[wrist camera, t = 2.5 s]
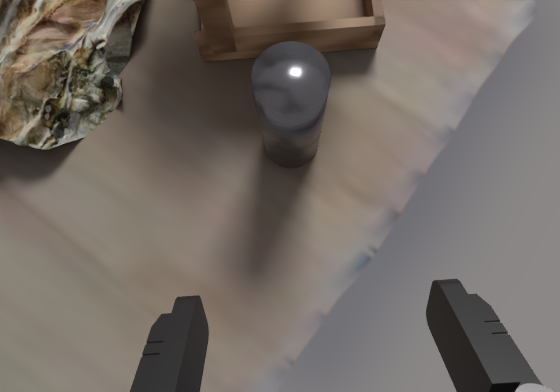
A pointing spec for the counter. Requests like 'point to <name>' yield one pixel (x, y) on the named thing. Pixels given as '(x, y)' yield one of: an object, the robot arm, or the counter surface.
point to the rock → (61, 66)
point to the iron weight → (291, 100)
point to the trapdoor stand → (286, 25)
